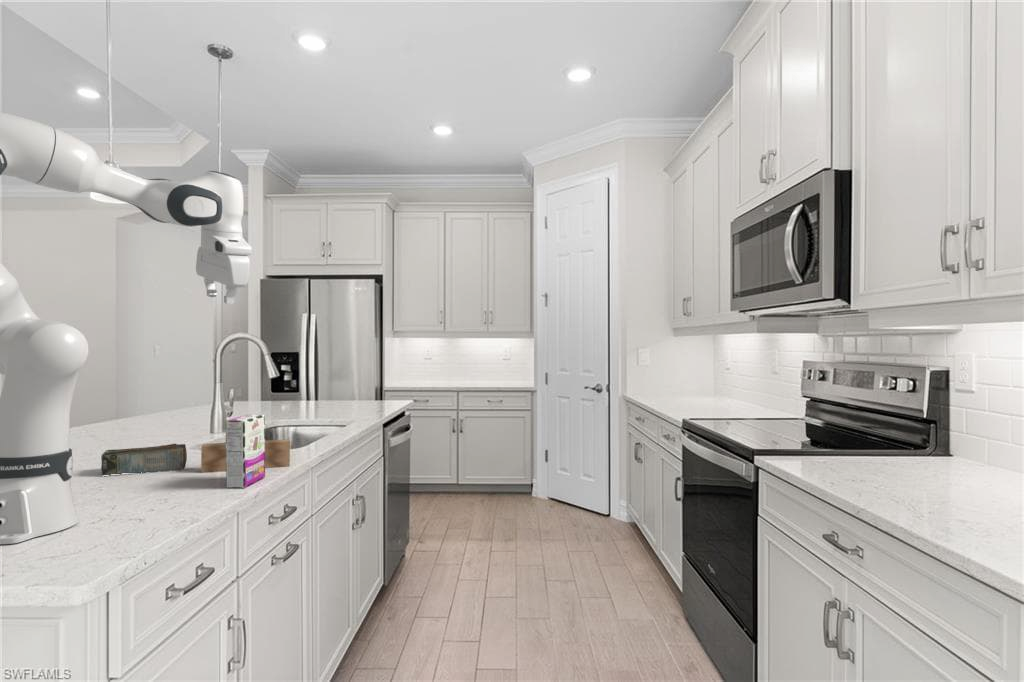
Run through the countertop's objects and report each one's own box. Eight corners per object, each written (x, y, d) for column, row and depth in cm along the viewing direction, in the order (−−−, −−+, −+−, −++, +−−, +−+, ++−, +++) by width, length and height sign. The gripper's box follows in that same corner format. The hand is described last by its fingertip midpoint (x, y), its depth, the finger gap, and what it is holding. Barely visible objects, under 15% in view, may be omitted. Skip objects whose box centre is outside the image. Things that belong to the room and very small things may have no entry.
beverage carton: (104, 471, 156) (105, 447, 156) (186, 465, 165) (187, 441, 165) (100, 477, 149) (100, 452, 149) (186, 470, 158) (186, 446, 158)
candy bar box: (246, 477, 150) (247, 413, 150) (265, 477, 149) (266, 414, 149) (223, 488, 138) (224, 419, 138) (244, 488, 138) (245, 420, 138)
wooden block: (201, 472, 154) (201, 446, 154) (202, 469, 158) (202, 443, 158) (289, 466, 163) (289, 441, 163) (288, 463, 167) (289, 439, 167)
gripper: (189, 237, 142) (188, 292, 145) (227, 247, 130) (225, 308, 132) (215, 238, 147) (214, 292, 150) (255, 248, 134) (252, 307, 137)
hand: (220, 300), depth 141 cm, fingers open, 8 cm apart
